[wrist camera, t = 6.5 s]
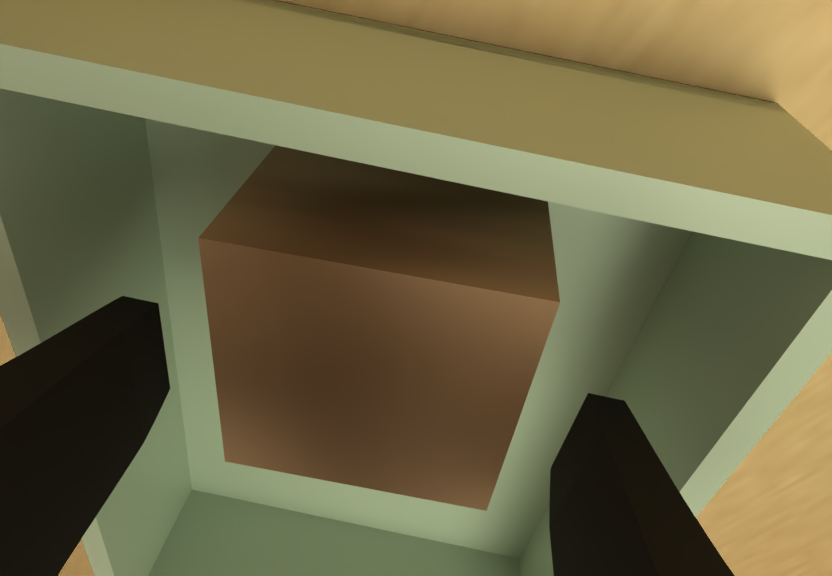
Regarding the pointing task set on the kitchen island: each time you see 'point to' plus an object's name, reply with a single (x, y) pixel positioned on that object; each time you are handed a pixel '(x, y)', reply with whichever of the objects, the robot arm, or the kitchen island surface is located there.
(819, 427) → the kitchen island surface
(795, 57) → the kitchen island surface
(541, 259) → the cube
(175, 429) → the tote
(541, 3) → the kitchen island surface
